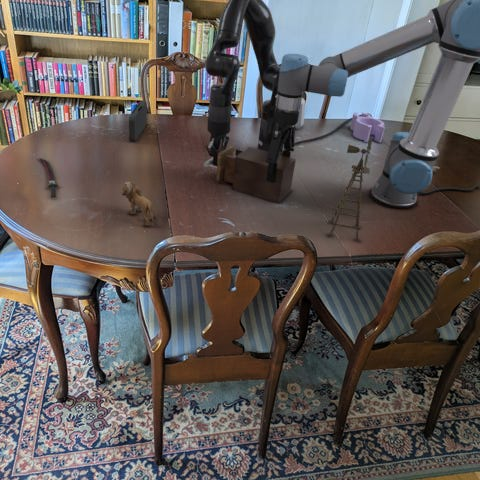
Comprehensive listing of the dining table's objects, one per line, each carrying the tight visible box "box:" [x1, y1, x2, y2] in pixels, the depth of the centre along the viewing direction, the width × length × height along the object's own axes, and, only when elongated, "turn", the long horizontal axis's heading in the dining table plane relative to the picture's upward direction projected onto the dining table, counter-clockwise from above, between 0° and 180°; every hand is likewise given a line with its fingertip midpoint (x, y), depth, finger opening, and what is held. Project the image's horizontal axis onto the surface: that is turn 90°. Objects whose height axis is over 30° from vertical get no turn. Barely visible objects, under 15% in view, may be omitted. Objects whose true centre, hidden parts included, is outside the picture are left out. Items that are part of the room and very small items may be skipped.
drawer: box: [203, 145, 244, 184], centre depth 158 cm, size 21×10×10 cm, turn 64°
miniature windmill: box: [329, 134, 373, 241], centre depth 132 cm, size 9×8×30 cm
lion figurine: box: [119, 181, 159, 227], centre depth 134 cm, size 15×5×9 cm, turn 50°
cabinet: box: [232, 146, 296, 204], centre depth 155 cm, size 17×11×12 cm, turn 64°
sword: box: [40, 158, 59, 198], centre depth 151 cm, size 31×3×1 cm, turn 26°
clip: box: [349, 112, 386, 143], centre depth 214 cm, size 20×12×7 cm, turn 11°
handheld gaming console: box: [128, 100, 148, 142], centre depth 189 cm, size 23×3×10 cm, turn 178°
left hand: (216, 166), depth 162 cm, fingers closed
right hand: (277, 175), depth 153 cm, fingers closed on cabinet, 11 cm apart
